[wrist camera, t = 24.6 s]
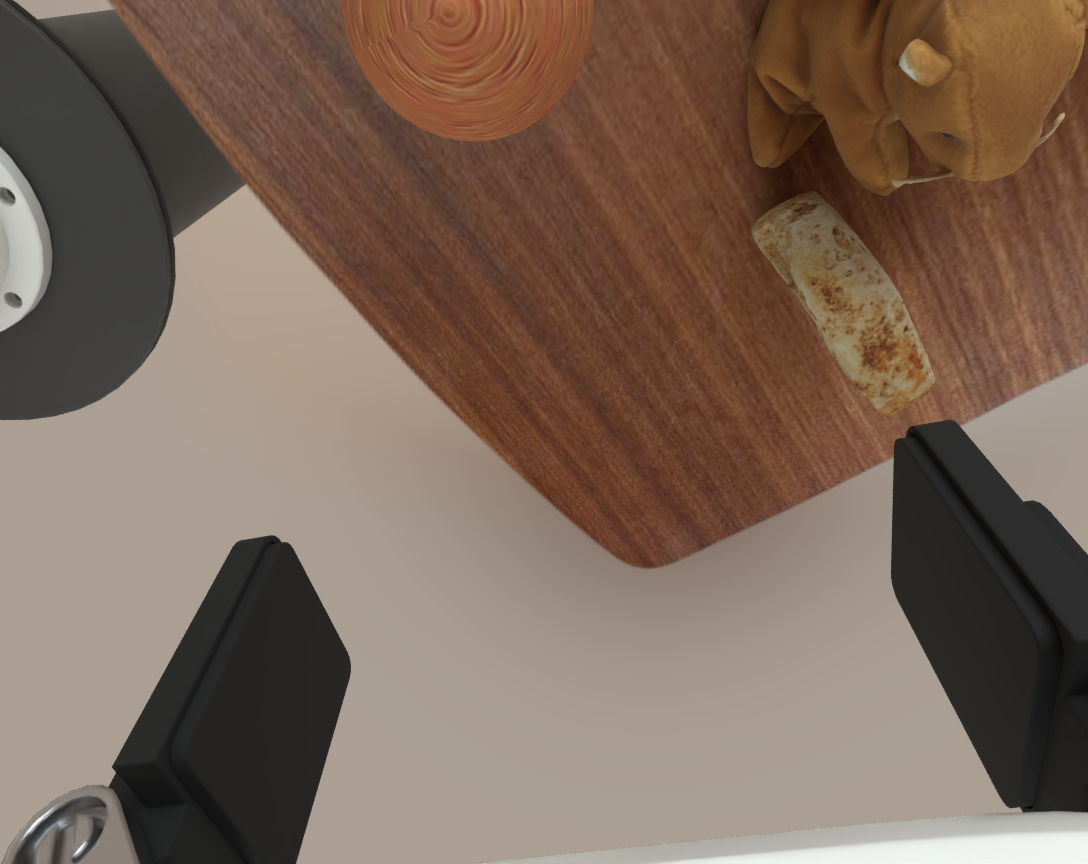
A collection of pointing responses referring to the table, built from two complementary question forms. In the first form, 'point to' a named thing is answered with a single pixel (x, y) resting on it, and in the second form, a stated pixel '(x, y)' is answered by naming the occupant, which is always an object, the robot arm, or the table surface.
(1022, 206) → the table surface
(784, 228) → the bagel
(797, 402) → the table surface
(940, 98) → the stuffed squirrel
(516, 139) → the table surface
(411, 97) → the mushroom
